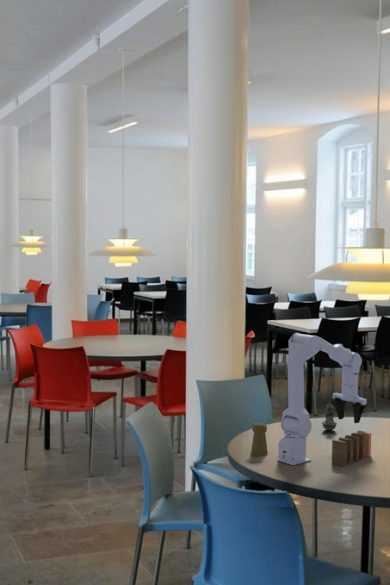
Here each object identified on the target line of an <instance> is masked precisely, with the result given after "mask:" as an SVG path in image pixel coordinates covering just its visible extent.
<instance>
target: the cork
mask: <svg viewBox="0 0 390 585" xmlns="http://www.w3.org/2000/svg"><path fill="white" fill-rule="evenodd" d="M267 427H268V426H267V424H266V423H263V422H256V423H254V424H253V425H252V429H251V430H252V432H253V437H252V444H251V449H250V450H251V452H250V455H252V456H255V457H265V456H268V454H269V453H268V445H267V444H268V443H267V437H266V432H267V430H268V428H267Z"/></svg>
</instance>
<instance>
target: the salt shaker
mask: <svg viewBox="0 0 390 585" xmlns="http://www.w3.org/2000/svg"><path fill="white" fill-rule="evenodd" d="M325 410H326V411H325V413H324V414H325V420H324V421H323V422H322V423H321V424H322V427H323V429H324V430H322V433H323V434H329V435H333V434H336V433H337V432H336V431H335V429H336V428H337V425H338V423H337V422H335V420H334V415H335V413H334V404H332V402H329V404H326V407H325Z"/></svg>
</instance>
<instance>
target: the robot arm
mask: <svg viewBox="0 0 390 585" xmlns="http://www.w3.org/2000/svg"><path fill="white" fill-rule="evenodd" d="M320 351H321V352H324V353H326V354H327V355H328V357H329V358H330V360H332V361H335V362H337V363H338V364H339V366H340V367H342V368H341V371H342V372H341V393H339V392H333V393H332V399H333V400H332V405H333V407H334V408H335V411H336V413H337V417H338V418H337V419H338V420H344V418H345V417H344V416H345V410H346V409H345V407H346V403H347V402H350V403H353V404H351V407H352V409H353V423H354V424H359V423H360V421H361V419H362V415H363V413H364V410H365V409H366V408H367V401H368V399H367V398H364V397H361V396H359V394H358V384H359V382H358V381H359V373H360V367H361V365H362V363H363V360H362V357H361V355H360V354H359V353H358V352H354V351H351V349H350V348H346V347H344V345H343V344H342V343H335V344H332V343H330V342H328V341H327V340H325V339H323V338H322V337H320V336H317V335H311V334H302V333H299V332H295V333H293V334H292V336H291V337H290V338H289V339H288V354H287V395H288V396H287V398H288V400H287V401H288V406H287V408H286V409H284V411H282V418H281V422H280V428H281V430H282V431H283V434H284V436H283V437H282V438H280V440H279V441H278V456H277V457H278V458H276V461H279V462H281V463H285V464H287V465H291V466H296V465H300V464H303V463H307V462H311V461H312V459H311V458H308V457H307V437H308V436H309V434H310V433H311V431H312V421H311V419H310V418H311V417H310V416H311V415H310V413H309V412H308V411H307V409H306V408H305V374H304V373H305V372H304V370H305V369H304V368H305V366H304V365H305V363H306V361H308V360H310V359H311V358H312V357H314V356H315V355H317V353H319V352H320Z"/></svg>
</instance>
